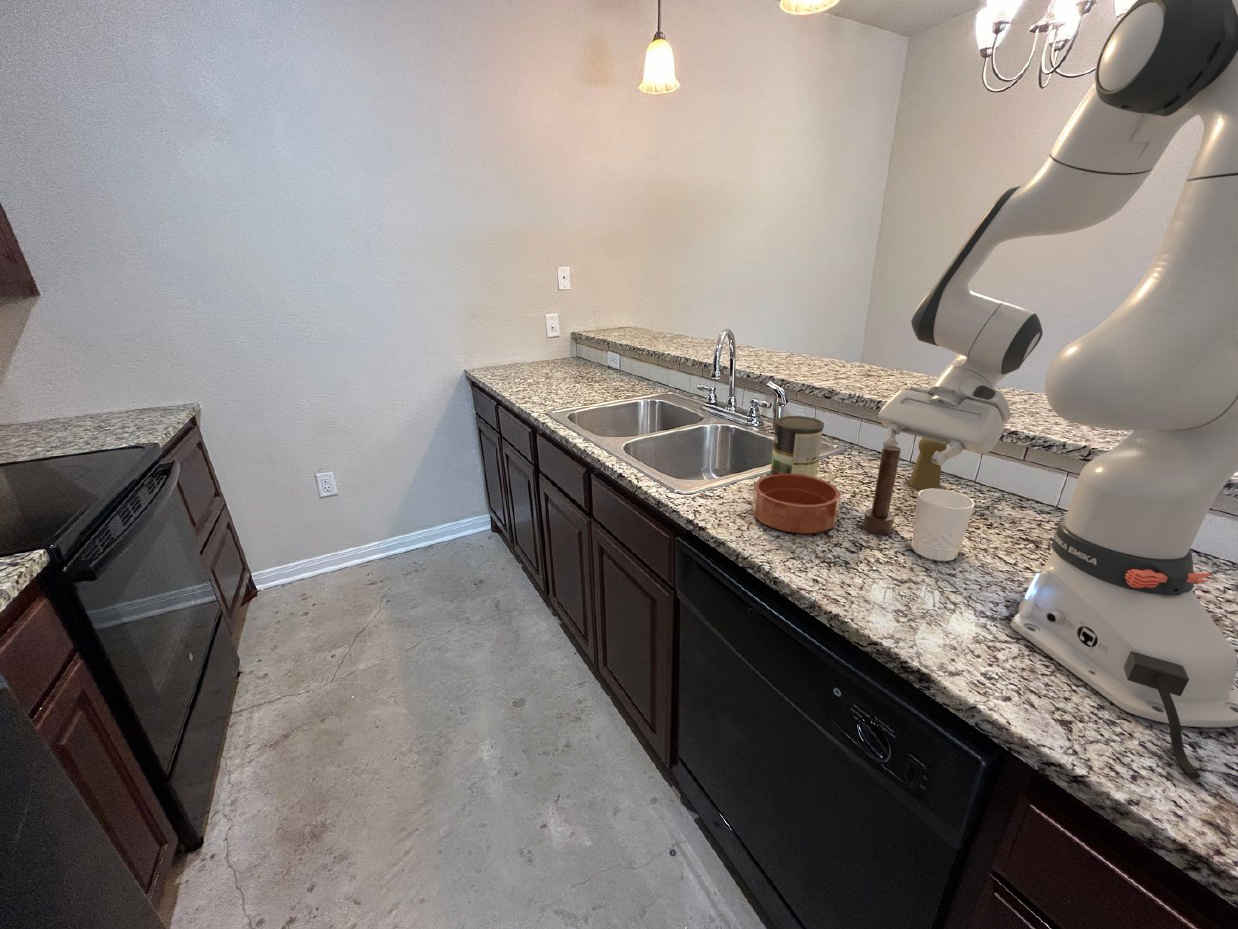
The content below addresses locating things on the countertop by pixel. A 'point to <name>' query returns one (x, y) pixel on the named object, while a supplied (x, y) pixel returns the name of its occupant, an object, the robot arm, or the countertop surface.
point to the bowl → (796, 503)
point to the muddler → (883, 494)
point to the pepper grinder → (927, 466)
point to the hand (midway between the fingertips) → (910, 454)
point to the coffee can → (796, 445)
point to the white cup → (940, 523)
